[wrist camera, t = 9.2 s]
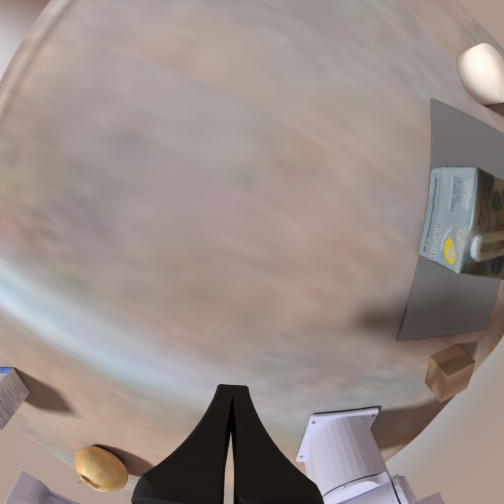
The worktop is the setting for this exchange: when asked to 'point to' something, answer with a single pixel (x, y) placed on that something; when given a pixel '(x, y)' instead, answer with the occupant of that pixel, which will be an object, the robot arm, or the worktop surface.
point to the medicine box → (10, 394)
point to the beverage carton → (465, 222)
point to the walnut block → (449, 372)
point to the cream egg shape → (482, 74)
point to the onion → (100, 469)
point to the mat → (427, 272)
